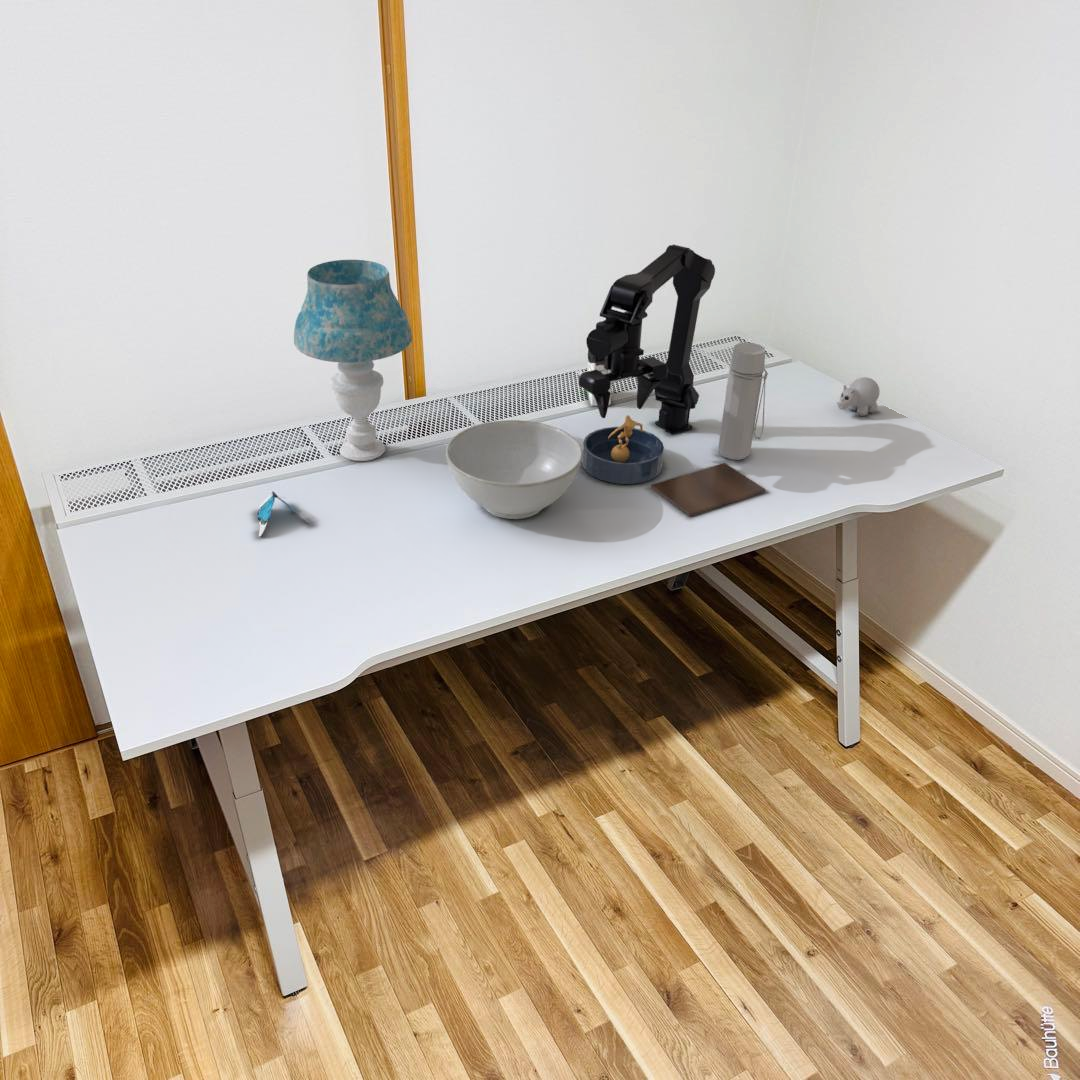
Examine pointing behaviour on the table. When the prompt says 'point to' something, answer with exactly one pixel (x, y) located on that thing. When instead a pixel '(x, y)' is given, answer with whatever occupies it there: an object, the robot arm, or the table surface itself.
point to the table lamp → (353, 339)
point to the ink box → (601, 369)
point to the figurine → (621, 451)
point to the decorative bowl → (514, 465)
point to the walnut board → (707, 489)
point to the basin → (635, 470)
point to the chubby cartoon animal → (860, 396)
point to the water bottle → (742, 400)
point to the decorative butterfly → (268, 510)
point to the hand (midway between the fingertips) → (621, 412)
